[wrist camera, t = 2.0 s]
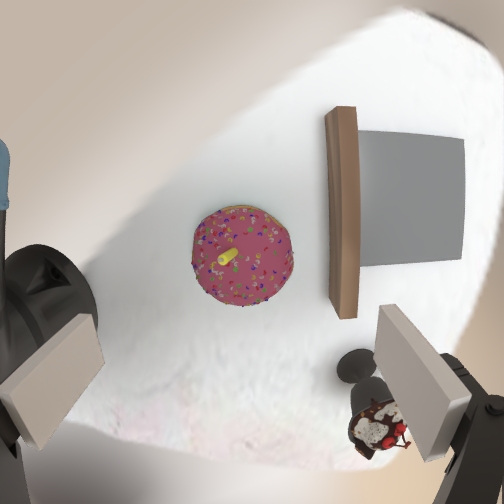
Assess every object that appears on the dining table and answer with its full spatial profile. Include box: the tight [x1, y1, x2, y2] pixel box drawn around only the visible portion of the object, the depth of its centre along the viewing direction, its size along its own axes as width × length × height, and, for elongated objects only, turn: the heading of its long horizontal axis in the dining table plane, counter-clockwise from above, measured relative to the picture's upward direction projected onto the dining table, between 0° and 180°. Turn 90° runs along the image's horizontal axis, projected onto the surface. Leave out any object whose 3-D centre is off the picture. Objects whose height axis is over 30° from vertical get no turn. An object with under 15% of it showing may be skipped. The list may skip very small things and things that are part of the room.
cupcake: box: [191, 205, 294, 307], centre depth 25 cm, size 9×8×12 cm
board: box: [358, 131, 465, 267], centre depth 29 cm, size 13×13×1 cm
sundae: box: [337, 349, 411, 460], centre depth 27 cm, size 7×7×15 cm
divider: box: [325, 106, 361, 319], centre depth 27 cm, size 2×18×5 cm, turn 3°
